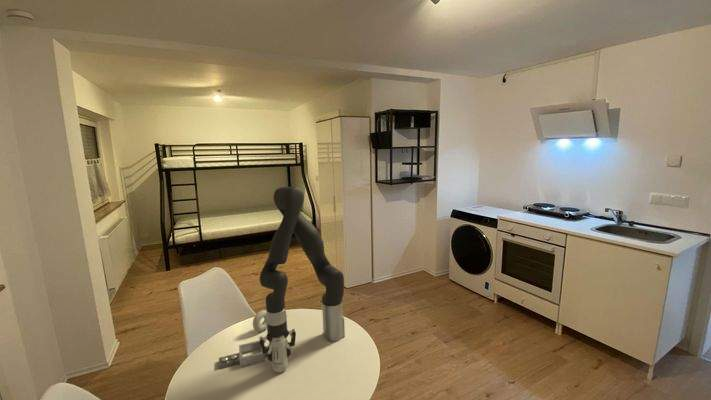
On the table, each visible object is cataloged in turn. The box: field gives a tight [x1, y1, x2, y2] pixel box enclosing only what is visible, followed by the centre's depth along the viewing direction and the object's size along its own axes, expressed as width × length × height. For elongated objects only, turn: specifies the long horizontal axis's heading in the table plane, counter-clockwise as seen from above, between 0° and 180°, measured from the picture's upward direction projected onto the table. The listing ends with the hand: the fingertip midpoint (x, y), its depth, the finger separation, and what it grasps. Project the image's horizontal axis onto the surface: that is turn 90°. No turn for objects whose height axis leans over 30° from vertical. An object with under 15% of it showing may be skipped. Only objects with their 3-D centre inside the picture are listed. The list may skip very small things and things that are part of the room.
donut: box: [252, 309, 267, 332], centre depth 147 cm, size 10×4×10 cm, turn 144°
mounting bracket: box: [218, 339, 268, 370], centre depth 129 cm, size 26×10×4 cm, turn 112°
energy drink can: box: [270, 335, 289, 374], centre depth 121 cm, size 6×6×15 cm
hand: (279, 358), depth 121 cm, fingers closed on energy drink can, 6 cm apart
